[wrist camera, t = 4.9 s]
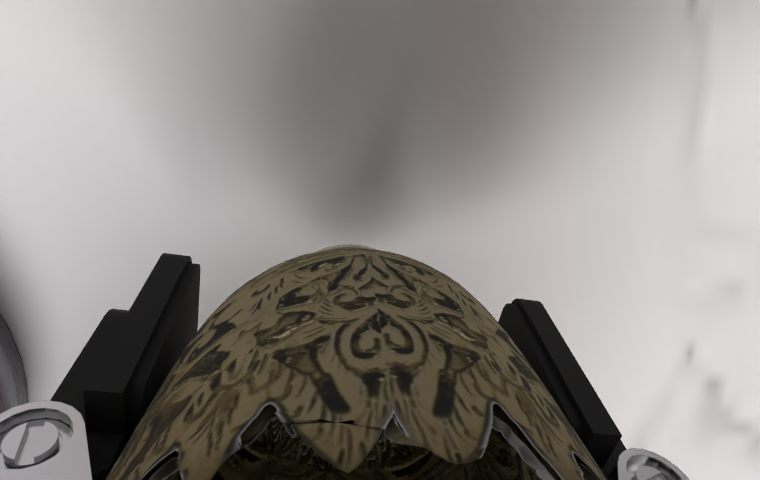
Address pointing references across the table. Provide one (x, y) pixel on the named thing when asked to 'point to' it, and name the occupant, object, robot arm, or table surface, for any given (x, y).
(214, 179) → the table surface
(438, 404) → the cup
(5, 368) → the gray dinner plate
